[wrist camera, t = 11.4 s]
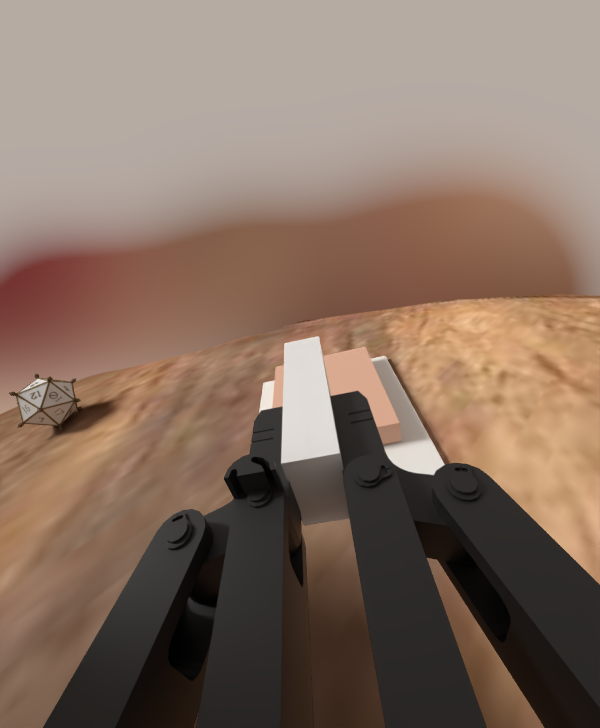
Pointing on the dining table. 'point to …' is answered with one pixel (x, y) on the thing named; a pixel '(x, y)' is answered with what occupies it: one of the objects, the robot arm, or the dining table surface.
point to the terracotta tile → (354, 388)
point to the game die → (46, 402)
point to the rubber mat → (416, 443)
